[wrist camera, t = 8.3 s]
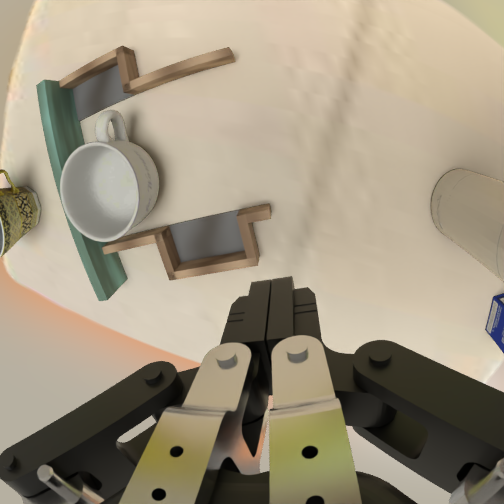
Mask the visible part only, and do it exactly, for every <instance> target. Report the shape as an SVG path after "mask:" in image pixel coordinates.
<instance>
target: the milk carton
mask: <svg viewBox="0 0 504 504" xmlns="http://www.w3.org/2000/svg"><path fill="white" fill-rule="evenodd" d="M485 330H486V331H487V332H488V334H489V335H490V336H491V337H492V339H493V340H494V341H495V342H496V344H497V345H498V346H499V348H500V349H501V350H502V352H503V353H504V294H500V295H497V296H494V297H493V301H492V306H491V310H490V314H489V318H488V322H487V326H486V329H485Z"/></svg>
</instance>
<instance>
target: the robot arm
mask: <svg viewBox="0 0 504 504" xmlns="http://www.w3.org/2000/svg"><path fill="white" fill-rule="evenodd" d="M431 212H432V217H433V220H434V223H435V225H436V227H437V228H438V229H439V230H440V232H441V233H443V234H444V235H445V236H447V237H448V238H450V239H451V240H452V241H454V242H455V243H456V244H457V245H459V246H460V247H461V248H463V249H464V250H465V251H466V252H468V253H469V254H470V255H472V256H473V257H474V258H475V259H477V260H478V261H479V262H480V263H482V264H483V265H484V266H485V267H486V268H488V269H489V270H490V271H491V272H492V273H494V274H495V275H496V276H497V277H498V278H499V279H501V280H502V281H503V282H504V182H503V181H500V180H497V179H494V178H491V177H488V176H484V175H482V174H478V173H475V172H471V171H468V170H464V169H454V170H452V171H449V172H448V173H446V174H445V175H444V176H443V177H442V178H441V179H440V180H439V182H438V183H437V185H436V187H435V189H434V192H433V196H432V201H431ZM269 395H273V409H270V411H269V412H268V408H267V406H268V397H269ZM151 415H152V416H153V418H154V419H155V420H156V422H157V423H155V424H154V425H152V426H151V427H149V428H148V429H147V430H145V431H143V432H142V433H140V434H139V435H138V436H136V437H134V438H133V439H131V440H130V441H128V442H125V443H120V442H118V441H117V439H118V438H119V437H120V436H121V435H123V434H124V433H126V432H127V431H129V430H130V429H132V428H133V427H135V426H136V425H138V424H139V423H141V422H142V421H144V420H145V419H147V418H148V417H150V416H151ZM268 417H269V456H270V457H269V460H270V461H269V462H270V471H267V472H263V473H260V458H261V453H262V448H263V443H264V438H265V433H266V428H267V422H268ZM346 425H347V426H352V427H353V429H354V430H355V432H357V433H358V434H359V435H360V436H362V437H363V438H365V439H366V440H368V441H369V442H370V443H372V444H374V445H375V446H376V447H378V448H379V449H381V450H382V451H384V452H385V453H386V454H388V455H389V456H391V457H392V458H394V459H395V460H397V461H399V462H400V463H402V464H403V465H405V466H406V467H408V468H409V469H411V470H413V471H414V472H416V473H417V474H419V475H420V476H422V477H424V478H426V479H427V480H429V481H430V482H432V483H434V484H435V485H437V486H439V487H440V488H442V489H444V490H446V491H447V492H449V493H451V497H450V500H449V504H504V392H502V391H499V390H497V389H495V388H492V387H490V386H488V385H486V384H484V383H481V382H479V381H477V380H475V379H472V378H470V377H468V376H466V375H464V374H461V373H459V372H457V371H455V370H453V369H450V368H448V367H446V366H444V365H442V364H440V363H437V362H435V361H433V360H431V359H429V358H427V357H424V356H422V355H420V354H418V353H416V352H414V351H412V350H409V349H407V348H405V347H403V346H401V345H399V344H397V343H394V342H392V341H387V340H376V341H371V342H368V343H366V344H364V345H362V346H361V347H359V348H358V349H357V351H356V352H355V354H344V353H338V352H335V351H332V350H330V349H329V348H327V347H326V346H325V345H324V343H323V342H322V339H321V332H320V325H319V318H318V311H317V305H316V298H315V294H314V293H313V292H312V291H311V290H310V289H309V288H308V287H307V288H300V289H294V283H293V278H292V276H291V277H284V278H277V279H272V280H264V281H257V282H252V283H251V286H250V291H249V296H243V297H239V298H238V299H237V300H236V301H235V302H234V303H233V304H232V306H231V309H230V312H229V316H228V319H227V323H226V326H225V329H224V332H223V336H222V339H221V343H220V345H219V346H217V347H215V348H213V349H212V350H210V351H209V352H208V353H207V354H206V355H205V357H204V359H203V361H202V363H201V366H199V367H197V368H193V369H190V370H186V371H182V372H177V370H176V368H175V366H174V365H173V364H171V363H169V362H165V361H158V362H153V363H150V364H148V365H146V366H144V367H142V368H141V369H139V370H138V371H136V372H135V373H133V374H132V375H130V376H128V377H127V378H125V379H123V380H122V381H120V382H119V383H117V384H116V385H114V386H113V387H111V388H109V389H108V390H106V391H104V392H103V393H101V394H99V395H98V396H96V397H95V398H93V399H91V400H90V401H88V402H87V403H85V404H83V405H81V406H80V407H78V408H77V409H75V410H74V411H72V412H70V413H68V414H66V415H65V416H63V417H61V418H60V419H58V420H56V421H55V422H53V423H51V424H50V425H48V426H46V427H44V428H43V429H41V430H39V431H37V432H36V433H34V434H32V435H31V436H29V437H27V438H25V439H24V440H22V441H20V442H18V443H16V444H15V445H13V446H11V447H9V448H7V449H6V450H5V451H3V453H2V454H1V455H0V479H2V480H3V481H4V482H5V483H6V484H8V485H9V486H10V487H12V488H13V489H14V490H15V491H17V492H18V494H19V495H20V496H21V497H22V499H23V503H24V504H417V503H416V502H415V501H413V500H411V499H410V498H409V497H408V496H406V495H404V494H403V493H402V492H401V491H399V490H398V489H397V488H395V487H394V486H392V485H391V484H389V483H388V482H386V481H384V480H382V479H380V478H378V477H375V476H373V475H370V474H366V473H363V472H358V471H355V466H354V461H353V457H352V453H351V448H350V443H349V438H348V434H347V430H346Z"/></svg>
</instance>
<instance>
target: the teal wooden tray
mask: <svg viewBox="0 0 504 504" xmlns="http://www.w3.org/2000/svg"><path fill="white" fill-rule="evenodd" d="M232 62H235V59H234V55H233V53H232V51H231V49H230V48H229V47H227V48H224V49H220V50H216V51H213V52H209V53H206V54H202V55H199V56H196V57H193V58H190V59H187V60H184V61H181V62H178V63H175V64H172V65H169V66H167V67H164V68H161V69H159V70H156V71H154V72H151V73H149V74H146V75H144V76H141V77H139V74H138V70H137V65H136V60H135V55H134V51H133V50H131V49H129V48H127V47H124V46H121V47H119V48H117V49H115V50H113V51H111V52H109V53H107V54H105V55H103V56H101V57H99V58H97V59H95V60H94V61H92V62H90V63H88V64H86V65H85V66H83V67H81V68H80V69H78V70H76V71H75V72H73V73H71V74H70V75H68V76H66V77H65V78H63V79H62V80H60V81H52V80H43V81H42V82H40V83H39V84H38V85H36V86H37V94H38V101H39V108H40V114H41V120H42V125H43V131H44V136H45V141H46V145H47V150H48V154H49V159H50V163H51V167H52V171H53V175H54V178H55V182H56V186H57V189H58V193H59V196H60V200H61V194H60V180H61V175H62V171H63V168H64V165H65V163H66V161H67V159H68V158H69V156H70V155H71V154H72V153H73V152H74V151H75V150H76V149H77V148H78V147H80V146H82V145H84V140H83V136H82V131H81V127H80V122H79V121H81V120H83V119H85V118H87V117H89V116H91V115H93V114H95V113H97V112H99V111H101V110H103V109H105V108H107V107H109V106H111V105H113V104H116V103H118V102H120V101H122V100H125V99H127V98H129V97H132V96H134V95H136V94H139V93H141V92H144V91H146V90H149V89H151V88H154V87H156V86H159V85H162V84H164V83H167V82H170V81H173V80H176V79H178V78H181V77H184V76H187V75H191V74H194V73H197V72H200V71H203V70H207V69H210V68H214V67H217V66H221V65H225V64H228V63H232ZM61 203H62V200H61ZM62 206H63V204H62ZM63 209H64V207H63ZM64 212H65V210H64ZM65 216H66V219H67V222H68V225H69V227H70V230H71V233H72V236H73V239H74V242H75V244H76V247H77V250H78V252H79V255H80V257H81V260H82V263H83V265H84V267H85V270H86V272H87V275H88V277H89V280H90V282H91V284H92V286H93V289H94V291H95V293H96V295H97V298H98V300H99V301H104V300H108V299H109V298H110V297H111V296H112V295H113V294H114V293H115V292H116V290H117V289H118V288H119V287H120V286H121V285H122V284H123V283H124V282H125V281H126V280H127V276H126V274H125V271H124V269H123V266H122V264H121V261H120V258H119V256H118V253H117V251H122V250H126V249H130V248H135V247H139V246H143V245H148V244H152V243H157V246H158V249H159V252H160V255H161V258H162V261H163V264H164V267H165V269H166V272H167V275H168V278H169V280H175V279H181V278H187V277H193V276H199V275H205V274H211V273H217V272H223V271H229V270H234V269H240V268H246V267H252V266H257V265H258V262H259V256H260V255H259V251H258V246H257V242H256V238H255V234H254V230H253V226H252V222H257V221H262V220H267V219H271V208H270V204H264V205H259V206H254V207H250V208H245V209H240V210H235V211H230V212H226V213H221V214H217V215H212V216H208V217H203V218H199V219H194V220H190V221H185V222H181V223H177V224H173V225H168V226H164V227H160V228H156V229H152V230H148V231H144V232H140V233H136V234H132V235H128V236H124V237H120V238H118V239H116V240H114V241H109V242H100V241H95V240H92V239H90V238H88V237H86V236H85V235H83V234H82V233H81V232H79V231H78V230H77V229H76V228H75V227H74V226H73V224H72V223H71V222H70V220H69V218H68V217H67V215H66V213H65Z"/></svg>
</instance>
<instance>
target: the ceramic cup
mask: <svg viewBox="0 0 504 504" xmlns="http://www.w3.org/2000/svg"><path fill="white" fill-rule="evenodd" d="M0 173H4V174H5V176H6V179H7V181H8V182H9V183H10V184H11V188H1V189H0V257H2V256H3V255H4V254H5V253H6V252H7V251H8V250H9V249H10V248H11V247H13V245H14V244H15V243H16V242H17V241H18V240H19V239H20V238H21V237H23V236H24V235H25V234H26V233H27V232H28V231H29V230H31V229H32V228H33V227H34V226H35V225H37V224H38V222H39V217H40V211H41V206H40V203H39V200H38V197H37V194H36V192H35V191H33V190H32V189H30V188H29V187H27V186H24V187H15V186H14V184H13V183H12V182H11V180H10V178H9V176H8V173H7V172H6V171H5V170H0Z"/></svg>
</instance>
